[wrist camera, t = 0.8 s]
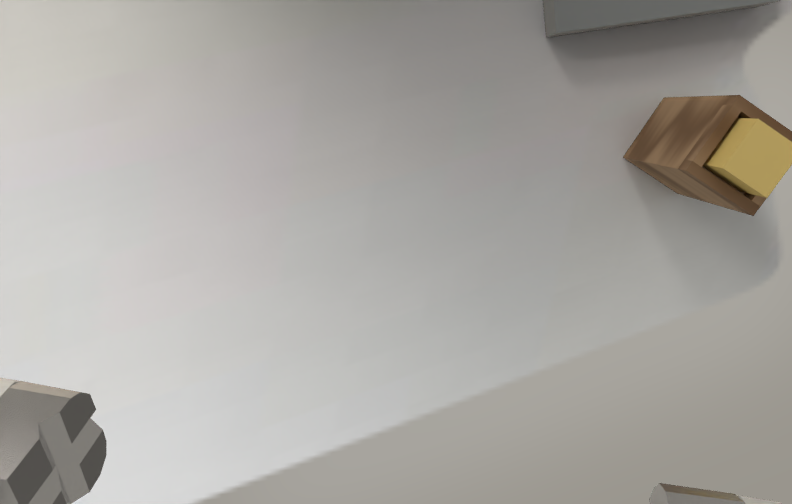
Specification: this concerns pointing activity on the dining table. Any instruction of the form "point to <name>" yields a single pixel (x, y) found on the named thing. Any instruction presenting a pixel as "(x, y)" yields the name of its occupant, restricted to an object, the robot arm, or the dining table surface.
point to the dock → (628, 12)
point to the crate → (695, 147)
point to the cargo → (751, 157)
